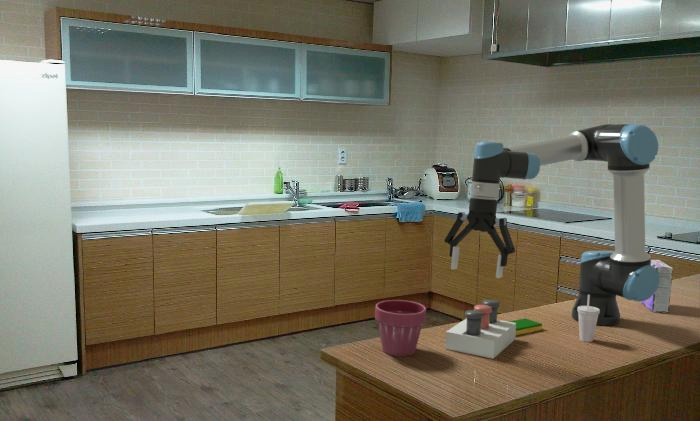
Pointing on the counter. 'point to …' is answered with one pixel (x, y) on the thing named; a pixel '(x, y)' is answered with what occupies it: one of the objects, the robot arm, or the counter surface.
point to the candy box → (661, 288)
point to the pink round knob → (484, 315)
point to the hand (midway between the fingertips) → (475, 273)
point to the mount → (481, 339)
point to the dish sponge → (526, 326)
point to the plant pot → (399, 325)
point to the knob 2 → (494, 305)
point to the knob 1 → (473, 322)
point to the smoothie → (587, 321)
